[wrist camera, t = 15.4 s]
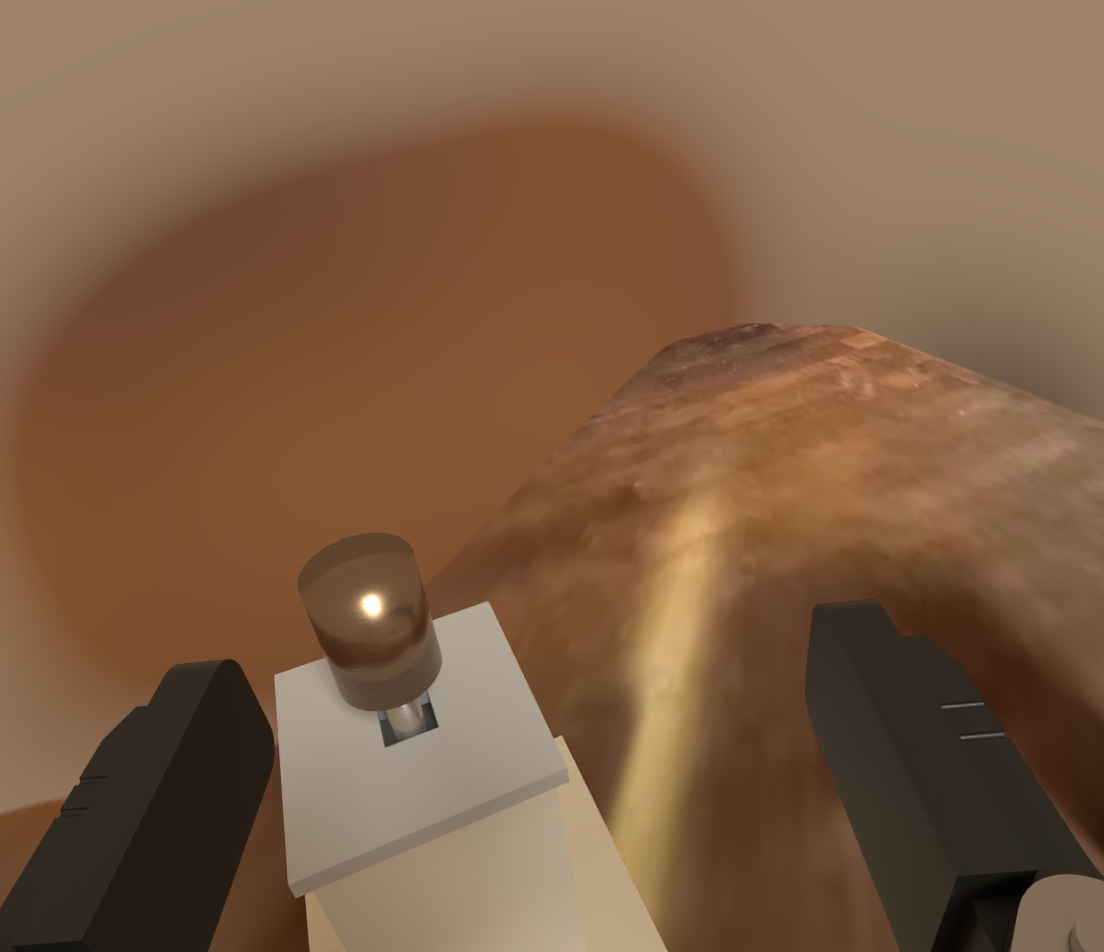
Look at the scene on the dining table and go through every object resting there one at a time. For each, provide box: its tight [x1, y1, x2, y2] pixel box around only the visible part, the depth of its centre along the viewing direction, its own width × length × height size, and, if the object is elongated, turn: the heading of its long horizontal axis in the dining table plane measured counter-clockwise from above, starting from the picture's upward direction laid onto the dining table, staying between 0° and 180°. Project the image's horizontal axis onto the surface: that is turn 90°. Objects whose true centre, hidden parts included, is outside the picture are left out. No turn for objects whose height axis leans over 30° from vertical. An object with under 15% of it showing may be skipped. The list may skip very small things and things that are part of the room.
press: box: [275, 602, 668, 952], centre depth 40 cm, size 20×20×20 cm
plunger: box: [298, 533, 442, 743], centre depth 36 cm, size 9×9×24 cm
